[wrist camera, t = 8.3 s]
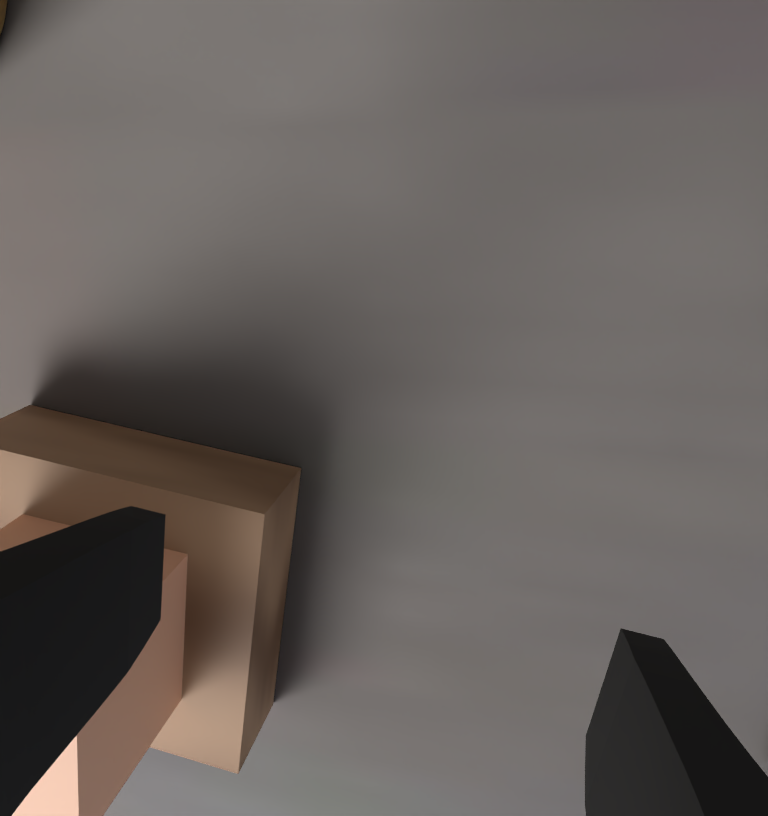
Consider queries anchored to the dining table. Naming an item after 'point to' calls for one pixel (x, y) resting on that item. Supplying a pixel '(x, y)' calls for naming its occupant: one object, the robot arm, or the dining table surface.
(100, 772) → the terracotta cube
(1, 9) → the plant pot
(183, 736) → the tan square slab
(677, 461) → the dining table surface
